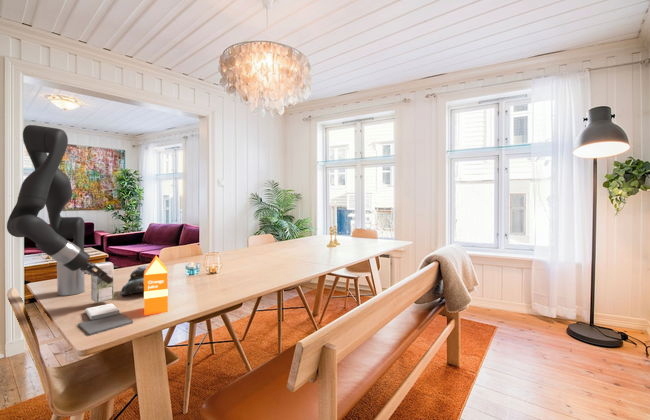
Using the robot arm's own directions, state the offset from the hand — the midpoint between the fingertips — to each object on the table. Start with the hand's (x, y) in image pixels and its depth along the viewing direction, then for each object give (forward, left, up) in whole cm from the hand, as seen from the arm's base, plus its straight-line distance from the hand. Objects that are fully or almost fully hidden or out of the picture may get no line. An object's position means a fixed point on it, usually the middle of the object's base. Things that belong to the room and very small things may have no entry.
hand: (107, 280), depth 121 cm
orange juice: (+22, +9, -9) cm, 26 cm away
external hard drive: (+13, -6, -9) cm, 16 cm away
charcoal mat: (+23, -8, -9) cm, 26 cm away
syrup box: (0, -2, -7) cm, 8 cm away
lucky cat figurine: (-4, +13, -9) cm, 16 cm away
